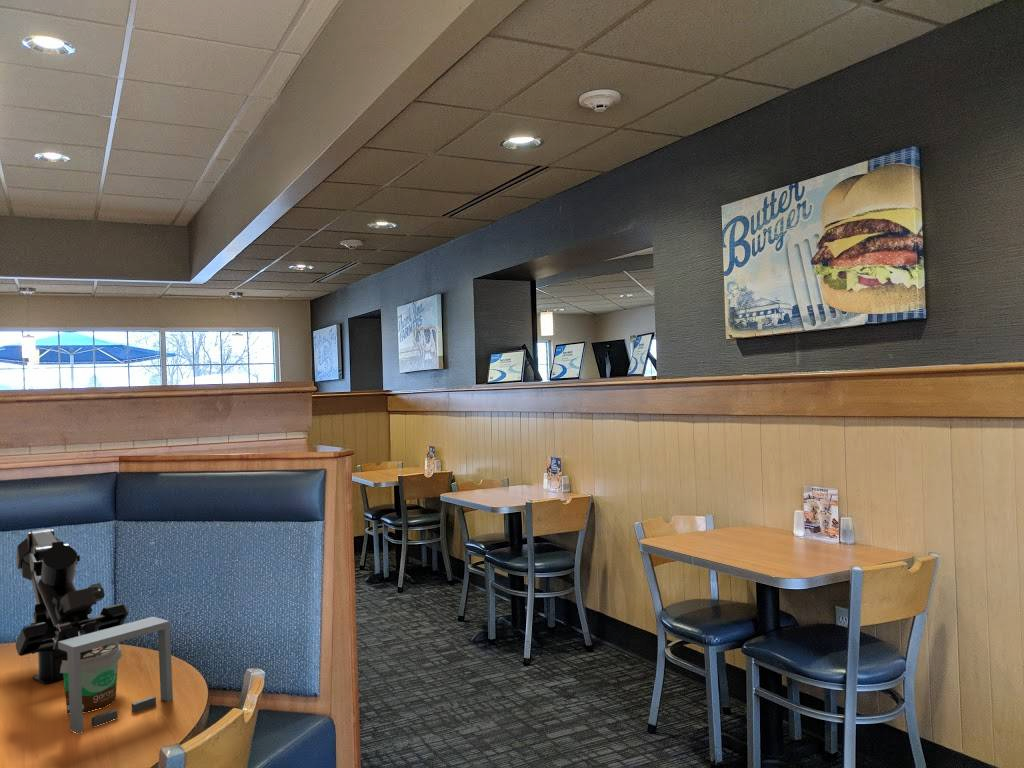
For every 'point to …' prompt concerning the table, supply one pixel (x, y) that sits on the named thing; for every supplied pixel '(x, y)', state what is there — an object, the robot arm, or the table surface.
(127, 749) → the table surface
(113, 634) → the overhang shelf
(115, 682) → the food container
